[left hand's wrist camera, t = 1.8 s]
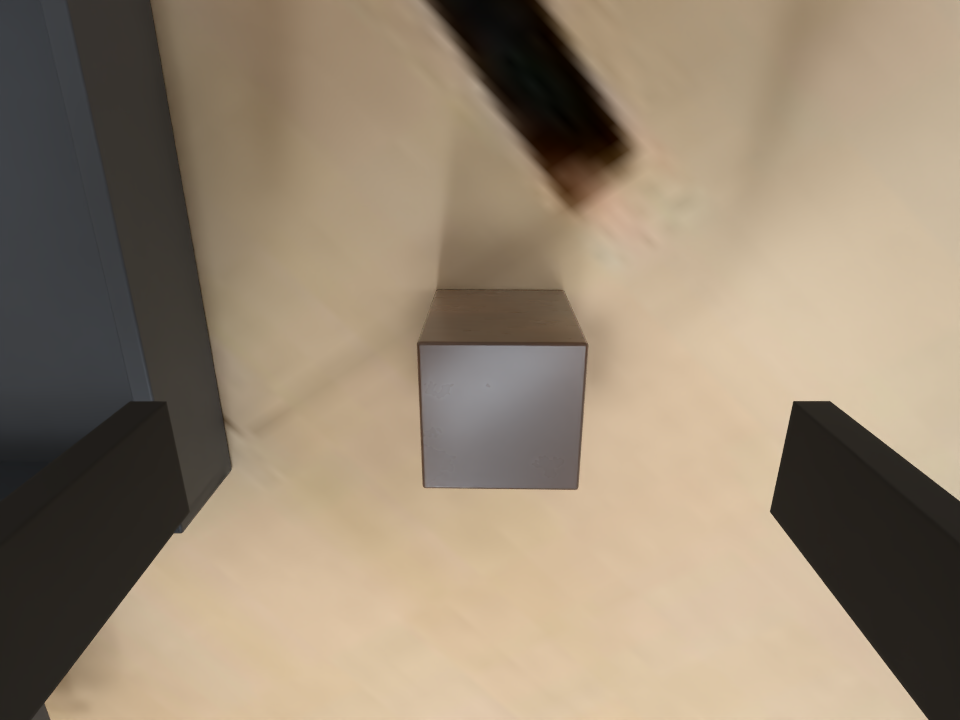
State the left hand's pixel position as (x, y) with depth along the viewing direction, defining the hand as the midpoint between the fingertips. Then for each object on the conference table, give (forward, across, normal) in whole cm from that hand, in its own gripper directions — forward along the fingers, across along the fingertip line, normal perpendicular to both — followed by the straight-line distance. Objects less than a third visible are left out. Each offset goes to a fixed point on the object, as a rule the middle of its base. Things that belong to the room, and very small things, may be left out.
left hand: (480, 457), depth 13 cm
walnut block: (+7, -1, 0) cm, 7 cm away
